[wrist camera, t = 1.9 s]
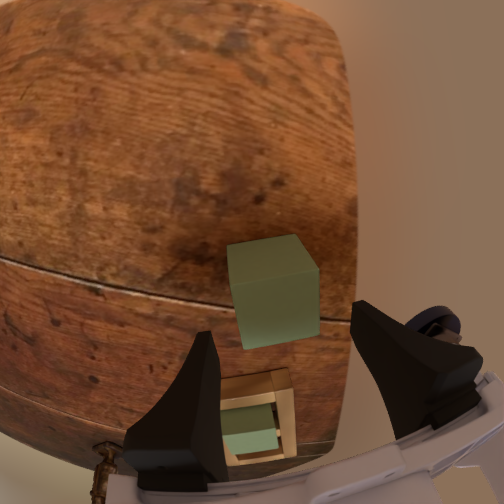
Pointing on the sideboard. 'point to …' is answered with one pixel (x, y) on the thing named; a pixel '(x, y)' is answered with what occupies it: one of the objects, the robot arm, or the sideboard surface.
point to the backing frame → (260, 392)
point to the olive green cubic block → (274, 290)
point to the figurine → (104, 470)
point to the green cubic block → (249, 429)
